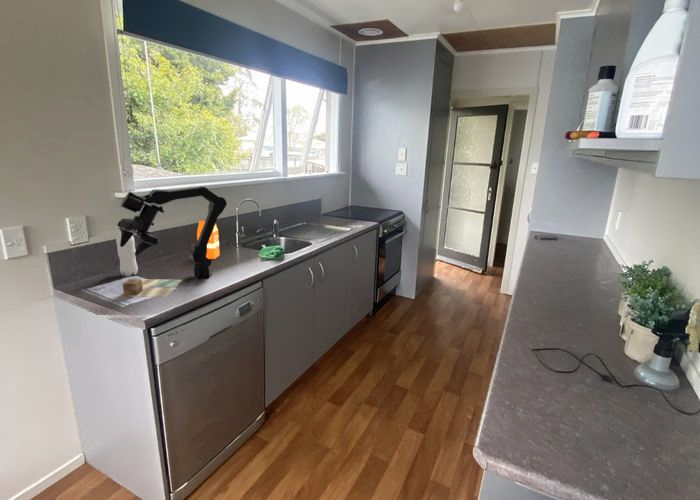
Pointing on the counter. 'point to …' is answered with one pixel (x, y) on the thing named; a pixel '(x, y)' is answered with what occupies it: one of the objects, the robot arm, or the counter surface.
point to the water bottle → (127, 256)
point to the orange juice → (210, 241)
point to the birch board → (155, 288)
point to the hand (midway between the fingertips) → (128, 250)
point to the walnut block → (132, 287)
